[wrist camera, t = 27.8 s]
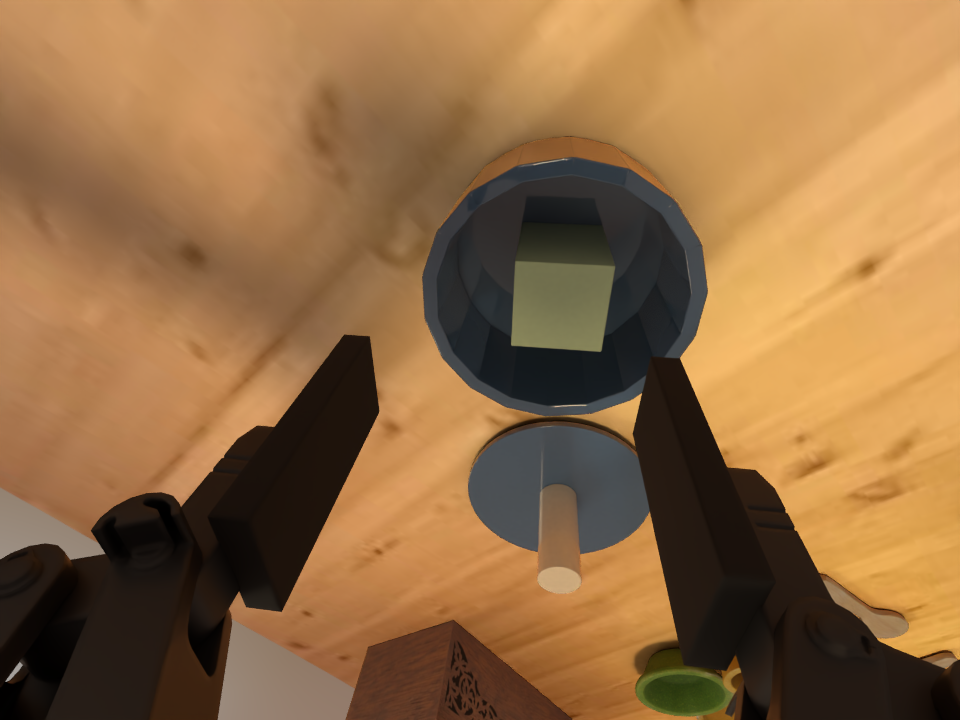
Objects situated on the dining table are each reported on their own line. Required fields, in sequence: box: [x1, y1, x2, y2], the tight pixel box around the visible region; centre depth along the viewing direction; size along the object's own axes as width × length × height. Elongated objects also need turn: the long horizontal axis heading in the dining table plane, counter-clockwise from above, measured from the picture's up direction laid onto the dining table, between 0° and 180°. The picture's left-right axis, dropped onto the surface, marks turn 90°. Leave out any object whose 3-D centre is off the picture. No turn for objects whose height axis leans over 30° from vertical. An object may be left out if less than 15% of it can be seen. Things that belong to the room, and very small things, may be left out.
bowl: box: [422, 136, 708, 416], centre depth 29 cm, size 15×15×8 cm
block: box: [511, 222, 615, 352], centre depth 28 cm, size 5×5×7 cm
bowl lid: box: [468, 421, 650, 594], centre depth 39 cm, size 16×16×9 cm
